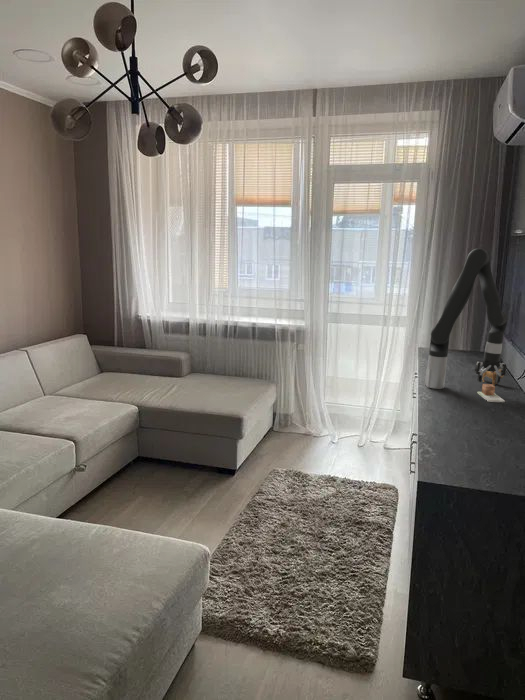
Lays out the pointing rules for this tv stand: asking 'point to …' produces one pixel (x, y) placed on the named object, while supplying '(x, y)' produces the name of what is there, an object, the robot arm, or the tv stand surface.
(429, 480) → the tv stand surface
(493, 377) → the lion figurine
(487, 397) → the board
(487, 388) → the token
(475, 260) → the robot arm
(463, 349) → the tv stand surface
